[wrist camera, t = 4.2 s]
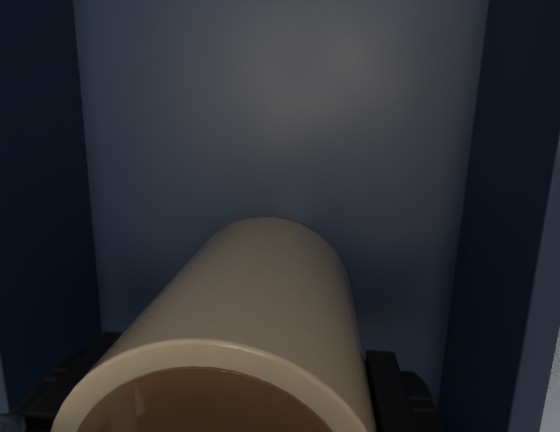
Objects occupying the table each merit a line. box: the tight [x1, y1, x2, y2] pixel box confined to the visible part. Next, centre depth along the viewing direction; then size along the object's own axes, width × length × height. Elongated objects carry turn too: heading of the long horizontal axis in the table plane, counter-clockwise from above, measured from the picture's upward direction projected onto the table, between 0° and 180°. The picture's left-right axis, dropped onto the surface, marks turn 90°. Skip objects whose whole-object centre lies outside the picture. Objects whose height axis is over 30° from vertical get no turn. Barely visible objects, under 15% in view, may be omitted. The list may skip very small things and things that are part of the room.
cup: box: [50, 217, 378, 432], centre depth 12 cm, size 7×7×9 cm
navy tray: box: [0, 0, 560, 432], centre depth 13 cm, size 26×16×6 cm, turn 179°
